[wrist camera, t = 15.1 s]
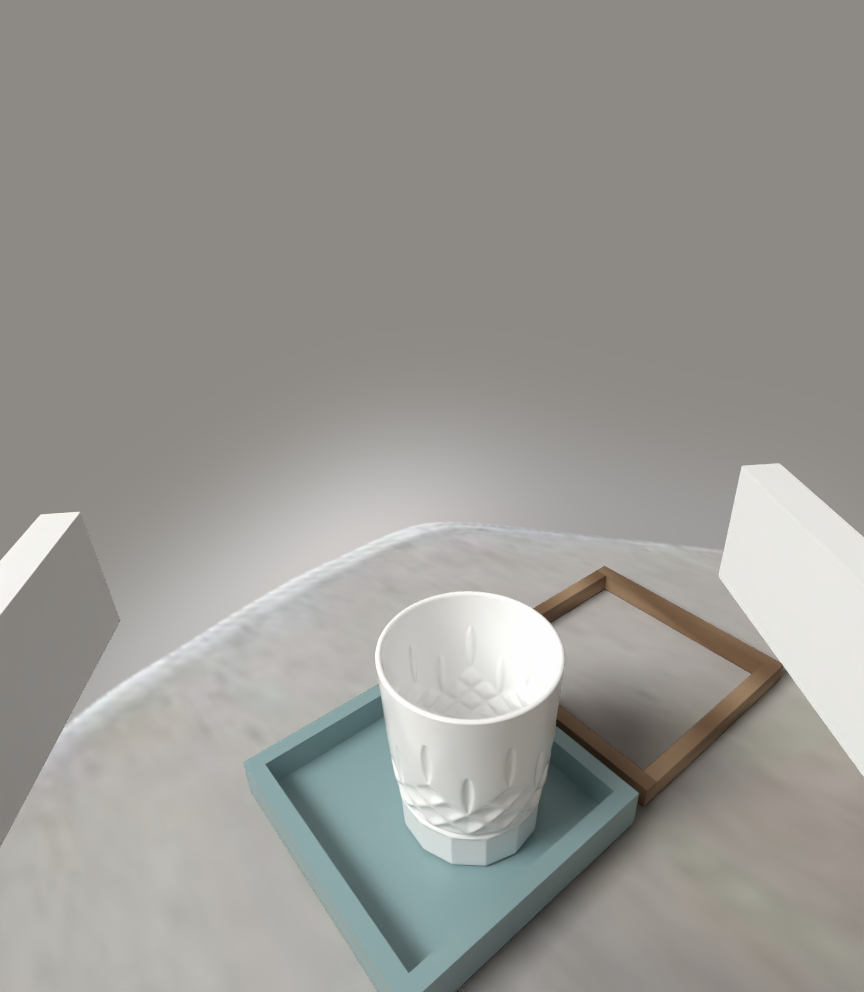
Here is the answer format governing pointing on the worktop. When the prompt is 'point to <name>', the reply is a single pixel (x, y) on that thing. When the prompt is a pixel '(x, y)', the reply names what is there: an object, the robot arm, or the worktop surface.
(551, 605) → the walnut frame
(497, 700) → the white cup
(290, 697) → the worktop surface
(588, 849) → the teal bin
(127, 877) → the worktop surface
